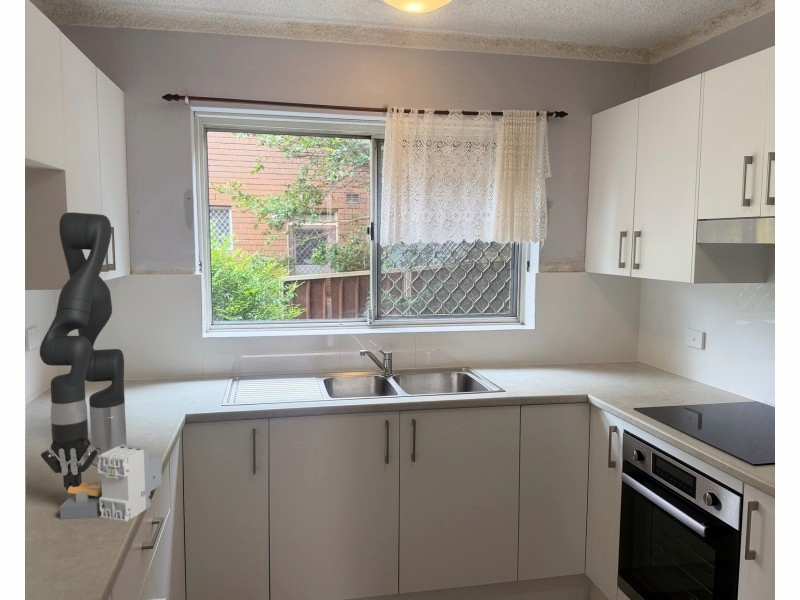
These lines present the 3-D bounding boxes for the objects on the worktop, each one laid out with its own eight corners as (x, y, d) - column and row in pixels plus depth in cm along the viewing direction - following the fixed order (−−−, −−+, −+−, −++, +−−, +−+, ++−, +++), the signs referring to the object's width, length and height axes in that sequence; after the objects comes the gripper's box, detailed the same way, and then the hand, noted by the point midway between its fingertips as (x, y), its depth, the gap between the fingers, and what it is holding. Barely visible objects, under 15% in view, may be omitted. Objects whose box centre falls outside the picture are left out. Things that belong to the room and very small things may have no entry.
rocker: (74, 487, 140) (75, 480, 140) (103, 490, 141) (104, 483, 141) (67, 494, 136) (68, 487, 136) (97, 498, 137) (98, 490, 137)
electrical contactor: (167, 495, 146) (165, 438, 145) (126, 521, 133) (123, 459, 131) (142, 491, 148) (140, 435, 147) (100, 517, 135) (97, 455, 133)
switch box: (79, 499, 143) (78, 480, 143) (112, 498, 144) (111, 479, 144) (60, 519, 134) (59, 498, 133) (96, 517, 135) (95, 496, 134)
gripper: (105, 413, 141) (108, 480, 143) (47, 414, 139) (50, 483, 141) (92, 422, 133) (96, 493, 135) (31, 424, 132) (35, 496, 133)
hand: (72, 488), depth 138 cm, fingers closed
